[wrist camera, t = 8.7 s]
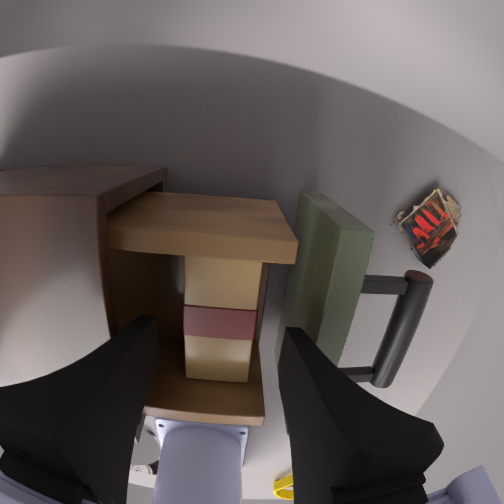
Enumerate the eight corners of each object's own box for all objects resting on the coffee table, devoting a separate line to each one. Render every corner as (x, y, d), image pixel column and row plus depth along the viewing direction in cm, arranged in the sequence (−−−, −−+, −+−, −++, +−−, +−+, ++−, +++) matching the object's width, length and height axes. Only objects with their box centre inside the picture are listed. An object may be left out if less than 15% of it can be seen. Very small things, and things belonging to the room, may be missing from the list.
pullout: (393, 204, 15) (467, 244, 9) (352, 352, 19) (386, 425, 13) (91, 177, 14) (14, 206, 8) (106, 334, 18) (66, 405, 12)
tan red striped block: (246, 340, 17) (248, 384, 14) (193, 336, 17) (184, 378, 13) (260, 222, 15) (266, 247, 11) (196, 216, 14) (182, 241, 11)
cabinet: (166, 166, 15) (97, 194, 7) (167, 342, 19) (138, 443, 11) (-6, 170, 14) (-94, 199, 6) (16, 313, 18) (-40, 376, 10)
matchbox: (431, 271, 18) (434, 274, 17) (385, 231, 17) (388, 233, 16) (467, 217, 17) (471, 219, 16) (425, 170, 16) (429, 171, 15)
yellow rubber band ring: (264, 479, 28) (297, 490, 29) (263, 497, 26) (297, 507, 27) (303, 464, 26) (334, 476, 27) (304, 485, 24) (336, 494, 25)
